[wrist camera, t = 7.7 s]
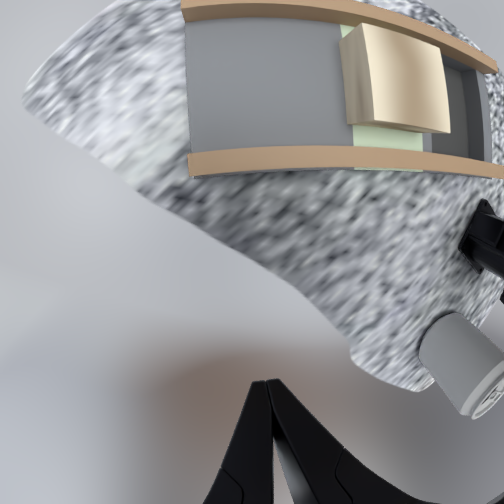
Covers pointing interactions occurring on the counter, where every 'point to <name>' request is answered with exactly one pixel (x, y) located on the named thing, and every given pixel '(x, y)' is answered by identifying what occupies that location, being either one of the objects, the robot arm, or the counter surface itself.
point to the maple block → (393, 81)
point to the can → (463, 364)
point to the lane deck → (316, 93)
